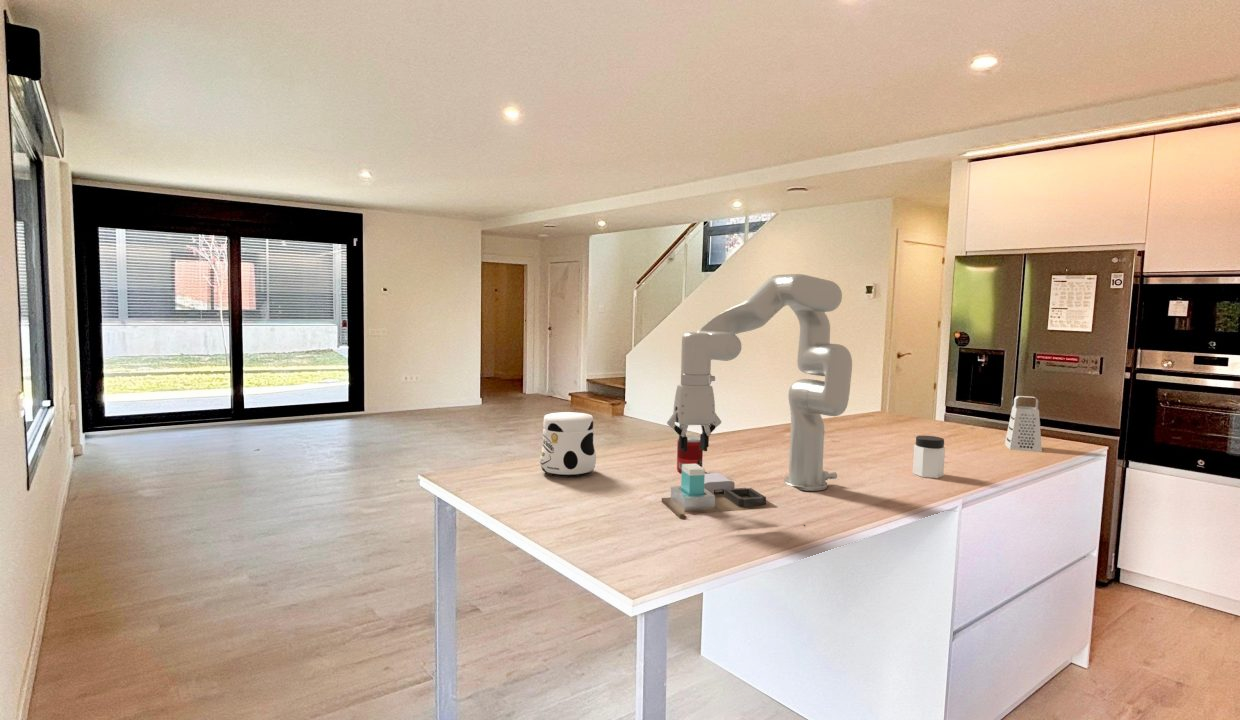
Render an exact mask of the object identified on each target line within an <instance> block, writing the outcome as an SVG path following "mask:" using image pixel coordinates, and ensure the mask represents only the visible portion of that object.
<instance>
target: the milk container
mask: <svg viewBox="0 0 1240 720" xmlns="http://www.w3.org/2000/svg"><path fill="white" fill-rule="evenodd" d="M542 421H543V423H542V425H543V426H542V428H543V429H542V440H543V441H542V447H541V451H540V455H539V463H540V468H541V470H542V471H543V472H545V474H547V475H550V476H554V477H559V478H560V477H562V478H576V477H582V476H586V475H588V474H590V473H592V472H593V471H594V469H595V468H596V462H597V454H596V449H595V445H594V434H595V433H594V432H595V430H594V417H593V415H592V414H589V413H584V412H572V411H570V412H569V411H567V412H563V411H562V412H551V413H548V414H545V415H543V420H542Z"/></svg>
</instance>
